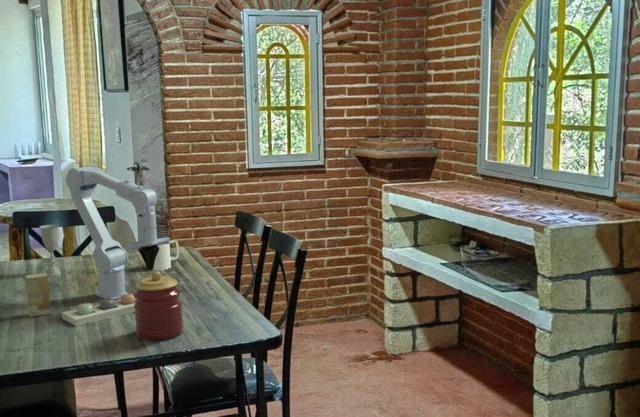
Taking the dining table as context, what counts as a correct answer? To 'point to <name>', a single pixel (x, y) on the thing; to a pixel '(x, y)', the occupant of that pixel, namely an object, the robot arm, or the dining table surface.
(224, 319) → the dining table surface
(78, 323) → the panel
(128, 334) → the dining table surface
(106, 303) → the charcoal button
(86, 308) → the sage button
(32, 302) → the skincare box
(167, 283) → the canister
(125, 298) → the terracotta button
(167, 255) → the cup
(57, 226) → the chalice
